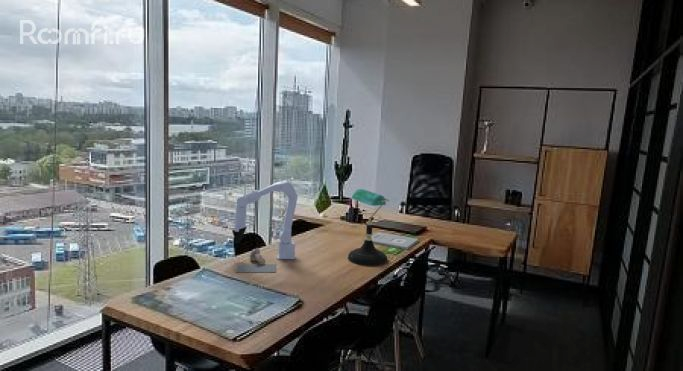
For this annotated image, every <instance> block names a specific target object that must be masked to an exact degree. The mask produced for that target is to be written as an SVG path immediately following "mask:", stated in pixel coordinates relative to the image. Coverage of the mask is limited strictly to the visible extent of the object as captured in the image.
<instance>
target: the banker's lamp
mask: <svg viewBox="0 0 683 371" xmlns="http://www.w3.org/2000/svg"><path fill="white" fill-rule="evenodd" d="M351 199H352V200H355V201H357V202H360V203H363V204H365V205H368V206H372V207H373V206H379V207H378V208H377V209H376V210H375V212H374V213H372V215H371V216H370V217H369V218H368V221H366V232H365V236H366V237H365V242H364V241H363V244H362V245H361V246H360V247H359V248H358V247H357V248H355V249H353V250H351V251H350V252H349V253H348V256H347V259H348V261H349V262H351V263H353V264H356V265H358V266H359V265H360V266H367V267H375V266H376V267H377V266H381V265H382V266H383V265H385V264H386V263H387V262H388V257H387V255H386V253H385V252H384V251H382V250H380V249H377V248H376V246H375V244H373V242H372V238H371V236H372V235H373V224H374V223H373V221H372V219H373V217H374V216H375V215H376V214H377V212H378V211H379V210H380V209H381V208H382V207H383V206H386V205H387V202H390V199H388V198H385V196H383V195H382V194H379V193H375V192H372V191H369V190H367V189H363V188H358V189H356V190H354V193H353V195H352V196H351Z"/></svg>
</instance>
